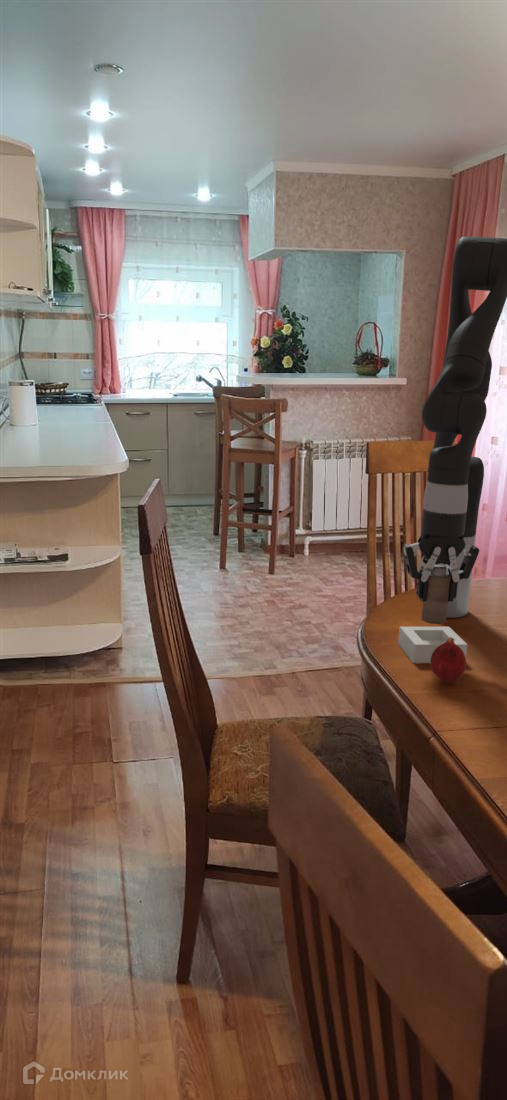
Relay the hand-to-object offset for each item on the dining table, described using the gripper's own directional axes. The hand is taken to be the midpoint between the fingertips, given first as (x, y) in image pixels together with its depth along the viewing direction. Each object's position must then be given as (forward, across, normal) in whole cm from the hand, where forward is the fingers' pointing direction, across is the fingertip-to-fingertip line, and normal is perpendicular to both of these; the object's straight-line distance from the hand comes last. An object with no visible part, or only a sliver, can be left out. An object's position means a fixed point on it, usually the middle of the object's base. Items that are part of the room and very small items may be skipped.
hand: (435, 599), depth 152 cm
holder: (+10, 0, 0) cm, 10 cm away
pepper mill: (+4, 0, 0) cm, 4 cm away
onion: (+10, -2, -14) cm, 17 cm away
